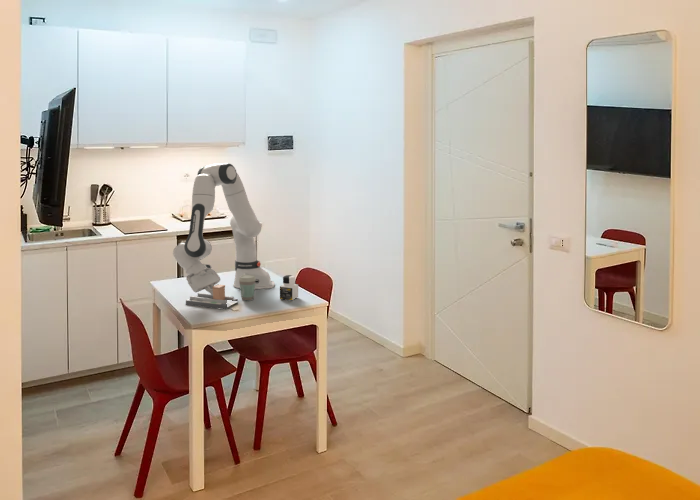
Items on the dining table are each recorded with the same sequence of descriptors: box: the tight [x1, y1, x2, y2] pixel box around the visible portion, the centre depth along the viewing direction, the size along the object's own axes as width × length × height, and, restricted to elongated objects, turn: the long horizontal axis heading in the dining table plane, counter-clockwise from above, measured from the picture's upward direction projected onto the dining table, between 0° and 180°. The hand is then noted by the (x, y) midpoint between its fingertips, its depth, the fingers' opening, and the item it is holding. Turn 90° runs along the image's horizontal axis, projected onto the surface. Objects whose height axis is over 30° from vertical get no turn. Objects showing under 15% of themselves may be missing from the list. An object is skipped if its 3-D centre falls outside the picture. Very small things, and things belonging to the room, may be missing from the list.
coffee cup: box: [239, 275, 256, 301], centre depth 315 cm, size 8×8×12 cm
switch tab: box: [212, 283, 226, 300], centre depth 306 cm, size 4×5×7 cm
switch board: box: [185, 292, 239, 310], centre depth 308 cm, size 22×12×4 cm, turn 70°
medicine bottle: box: [279, 274, 299, 301], centre depth 318 cm, size 7×7×12 cm
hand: (214, 293), depth 306 cm, fingers closed, pressing on switch tab
